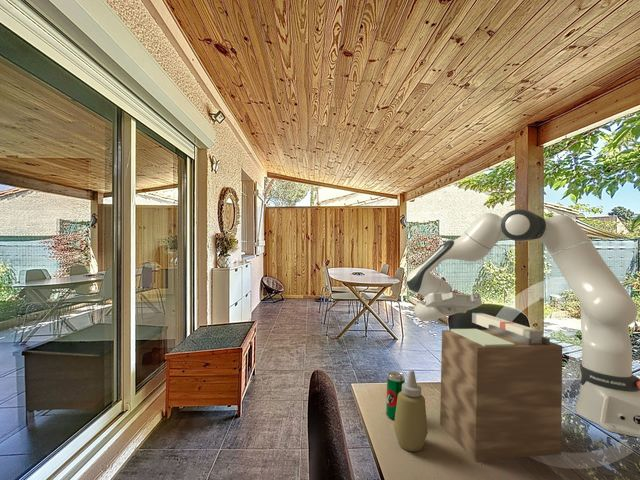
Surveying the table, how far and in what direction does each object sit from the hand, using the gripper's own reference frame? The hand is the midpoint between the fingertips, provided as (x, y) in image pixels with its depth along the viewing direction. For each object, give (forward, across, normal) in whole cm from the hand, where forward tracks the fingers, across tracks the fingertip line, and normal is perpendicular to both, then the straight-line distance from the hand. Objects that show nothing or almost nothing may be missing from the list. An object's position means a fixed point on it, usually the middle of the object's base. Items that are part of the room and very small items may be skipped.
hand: (466, 295), depth 103 cm
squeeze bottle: (+4, -30, +40) cm, 50 cm away
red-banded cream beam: (+11, 0, +14) cm, 18 cm away
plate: (+15, -11, +16) cm, 25 cm away
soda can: (-7, -27, +35) cm, 45 cm away
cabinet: (+6, -6, +40) cm, 40 cm away
